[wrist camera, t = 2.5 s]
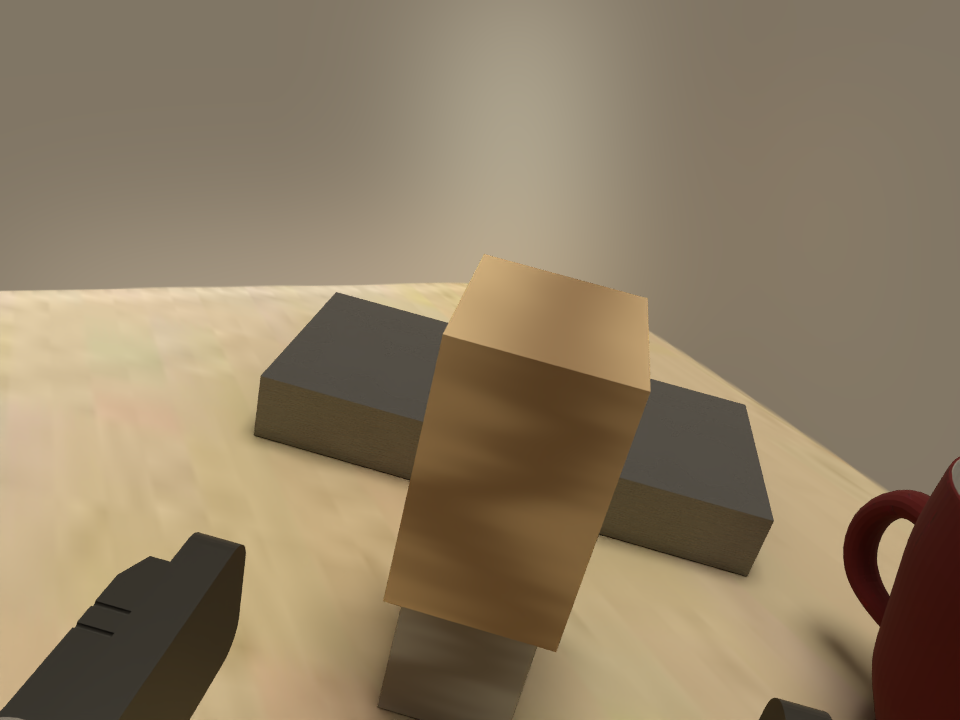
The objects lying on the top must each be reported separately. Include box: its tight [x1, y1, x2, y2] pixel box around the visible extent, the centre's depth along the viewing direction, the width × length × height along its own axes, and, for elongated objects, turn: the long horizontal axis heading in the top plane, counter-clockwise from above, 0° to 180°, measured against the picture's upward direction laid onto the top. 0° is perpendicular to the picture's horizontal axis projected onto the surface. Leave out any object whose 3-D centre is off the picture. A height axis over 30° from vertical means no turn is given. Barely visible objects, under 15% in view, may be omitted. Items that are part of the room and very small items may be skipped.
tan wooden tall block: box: [378, 254, 651, 720], centre depth 25 cm, size 5×6×13 cm
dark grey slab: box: [254, 292, 774, 576], centre depth 40 cm, size 22×10×3 cm, turn 80°
